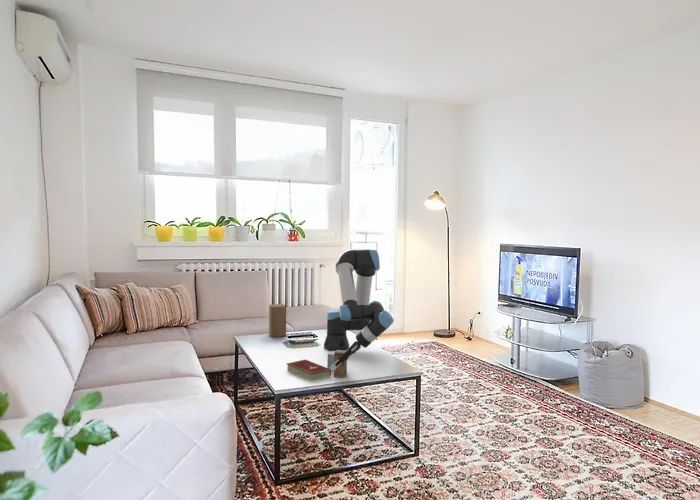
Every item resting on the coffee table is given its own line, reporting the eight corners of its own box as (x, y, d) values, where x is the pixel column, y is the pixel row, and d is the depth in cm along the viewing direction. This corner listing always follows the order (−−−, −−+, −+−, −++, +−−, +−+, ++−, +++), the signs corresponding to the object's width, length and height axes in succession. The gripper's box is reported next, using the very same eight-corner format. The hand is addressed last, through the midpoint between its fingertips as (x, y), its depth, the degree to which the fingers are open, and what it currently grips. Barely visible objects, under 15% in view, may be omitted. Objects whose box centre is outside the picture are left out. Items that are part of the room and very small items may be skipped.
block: (268, 334, 320) (269, 304, 319) (283, 333, 323) (283, 303, 322) (270, 337, 310) (271, 306, 309) (286, 336, 313) (286, 306, 312)
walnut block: (336, 373, 237) (337, 349, 237) (346, 374, 236) (346, 350, 235) (334, 376, 232) (334, 352, 232) (343, 377, 231) (344, 353, 231)
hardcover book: (305, 366, 250) (305, 358, 250) (330, 376, 234) (330, 368, 234) (286, 371, 242) (286, 362, 242) (310, 381, 226) (310, 373, 226)
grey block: (330, 366, 250) (330, 351, 250) (341, 367, 249) (342, 351, 248) (327, 369, 244) (327, 354, 244) (338, 370, 243) (338, 355, 242)
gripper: (367, 347, 221) (333, 379, 226) (375, 338, 238) (342, 368, 243) (356, 335, 222) (322, 366, 227) (365, 327, 239) (333, 356, 244)
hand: (333, 367), depth 235 cm, fingers closed on walnut block, 5 cm apart
